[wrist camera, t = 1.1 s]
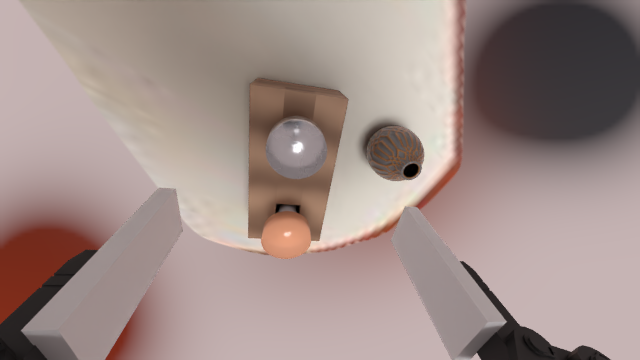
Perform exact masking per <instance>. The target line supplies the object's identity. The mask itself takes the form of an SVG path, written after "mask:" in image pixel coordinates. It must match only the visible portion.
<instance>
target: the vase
mask: <svg viewBox="0 0 640 360" xmlns="http://www.w3.org/2000/svg"><path fill="white" fill-rule="evenodd" d="M367 159H368V162H369V164H370V166H371V168H372V169H373V170H374V171H375V172H376V173H377V174H378V175H379V176H381V177H383V178H385V179H387V180H391V181H402V180H412V179H414V178H416V177H417V176H418V175H419V174H420V172H421V169H422V167H421V166H422V164H423V161H424V149H423V146H422V143H421V141H420V140H419V138H418V137H417V136H416V135H415V134H414V133H413V132H412V131H410V130H408V129H406V128H404V127H401V126H387V127H384V128H382V129H380V130H378V131H377V132H376V133H374V134H373V136H372V137H371V138H370V140H369V142H368V145H367Z"/></svg>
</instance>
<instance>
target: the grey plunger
mask: <svg viewBox="0 0 640 360" xmlns="http://www.w3.org/2000/svg"><path fill="white" fill-rule="evenodd" d="M266 157H267V160H268V162H269V164H270V166H271V167H272V168H273V169H274V170H275V171H276V172H277V173H278V174H280V175H282V176H284V177H287V178H291V179H302V178H306V177H309V176H311V175H313V174H315V173H316V172H317V171H318V170H319V169H320V168H321V167H322V166H323V164H324V162H325V160H326V157H327V144H326V141H325V138H324V136H323V133H322V131H321V129H320V128H319V127H318V125H317V124H316V123H314V122H313V121H312V120H310V119H308V118H305V117H301V116H290V117H287V118H284V119H282V120H280V121H279V122H277V123H276V124H275V125H274V126H273V128H272V129H271V131H270V133H269V136H268V140H267V143H266Z"/></svg>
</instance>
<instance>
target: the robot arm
mask: <svg viewBox="0 0 640 360" xmlns="http://www.w3.org/2000/svg"><path fill="white" fill-rule="evenodd" d="M182 231H183V229H182V223H181V217H180V211H179V205H178V199H177V193H176V189H169V188H158V189H157V190H156V191H155V192H154V193H153V194H152V195H151V197H150V198H149V199H148V200H147V201H146V202H145V203H144V204H143V205H142V206H141V207H140V208H139V209H138V210H137V211H136V212H135V213H134V214H133V215H132V216H131V217H130V218H129V219H128V220H127V221H126V222H125V223H124V224H123V225H122V226H121V228H120V229H119V230H118V231H117V232H116V233H115V234H114V235H113V236H112V237H111V238H110V239H109V240H108V241H107V242H106V243H105V244H104V245H103V246H102V247H101V248H100V249H99V250H85V251H83V252H82V253H80V254H78V255H77V256H75V257H73V258H72V259H70V260H68V261H67V262H66V263H65V264H64V265H63V266H62V267H61V268H60V269H59V270H58V271H57V272H56V273H54V276H52V277H50V278H49V279H48V280H47V281H46V282H45V283H44V284H43V285H42V287H41V288H39V289H37V291H36V292H34V293H33V294H32V295H31V296H30V297H29V298H28V299H27V300H26V301H25V302H24V303H23V304H22V305H21V306H19V307H18V308H17V309H16V310H15V311H14V312H13V313H12V314H11V315H10V316H9V317H8V318H7V319H6V320H5V321H3V322H2V323H1V324H0V360H105V358H106V357H107V355H108V353H109V352H110V350H111V348H112V347H113V345H114V343H115V342H116V340H117V339H118V337H119V335H120V334H121V332H122V330H123V329H124V327H125V325H126V324H127V322H128V320H129V319H130V317H131V315H132V314H133V312H134V310H135V309H136V307H137V306H138V304H139V302H140V301H141V299H142V297H143V296H144V294H145V292H146V291H147V289H148V287H149V286H150V284H151V282H152V281H153V279H154V277H155V276H156V274H157V272H158V270H159V269H160V268H161V266H162V264H163V263H164V261H165V259H166V258H167V256H168V254H169V253H170V251H171V249H172V248H173V246H174V244H175V242H176V241H177V240H178V238H179V236H180V234H181V233H182ZM391 242H392V244H393V246H394V248H395V250H396V252H397V254H398V256H399V257H400V259H401V262H402V263H403V265H404V267H405V269H406V271H407V273H408V275H409V277H410V279H411V281H412V283H413V285H414V287H415V289H416V291H417V293H418V295H419V296H420V299H421V301H422V303H423V305H424V306H425V308H426V310H427V312H428V314H429V316H430V318H431V320H432V322H433V324H434V326H435V328H436V330H437V332H438V334H439V336H440V338H441V340H442V342H443V343H444V346H445V348H446V349H447V351H448V353H449V355H450V357H451V359H452V360H470V359H471V358H472V357H473V356H474V355H475V354H476V353H478V355H479V357H480V358H481V360H610V359H609V358H608V357H606V356H605V355H603V354H602V353H600V352H599V351H597V350H595V349H593V348H591V347H587V346H580V347H578V348H576V349H575V350H574V351H572V352H570V351H567V350H564V349H560V348H557V347H554V346H551V345H550V344H549V342H548V341H546V340H545V339H544V338H543V337H542V336H541V335H539V334H538V333H536V332H535V331H533V330H531V329H529V328H526V327H521V326H520V325H519V324H518V323H517V322H516V320H515V319H514V318H513V317H512V316H511V315H510V313H509V312H508V311H507V310H506V308H505V307H504V306H503V305H502V303H501V302H500V301H499V300H498V299H497V297H496V296H495V295H494V294H493V292H492V291H490V290H489V288H488V286H487V285H486V284H485V283H484V282H483V280H482V279H481V278H480V277H479V275H478V274H477V273H476V272H475V271H474V270H473V269H472V268H471V267H470V266H468V265H467V264H466V263H465V262H463V261H462V262H461V261H459V260H458V259H457V258H456V256H455V255H454V254H453V253H452V251H451V250H450V249H449V247H448V246H447V245H446V244H445V242H444V241H443V240H442V239H441V237H440V236H439V235H438V233H437V232H436V231H435V230H434V228H433V227H432V226H431V224H430V223H429V222H428V221H427V219H426V218H425V217H424V216H423V215H422V213H421V212H420V210H419V209H418V208H417V207H407V206H405V208H404V210H403V213H402V215H401V218H400V220H399V222H398V225H397V227H396V230H395V232H394V235H393V237H392V239H391Z"/></svg>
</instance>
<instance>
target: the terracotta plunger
mask: <svg viewBox="0 0 640 360" xmlns="http://www.w3.org/2000/svg"><path fill="white" fill-rule="evenodd" d="M261 243H262V246H263V248H264V250H265V251H266V252H267V253H268V254H270V255H272V256H274V257H277V258H281V259H288V258H294V257H297V256H300V255H302V254H303V253H304V252H305V251H306V250H307V249H308V248H309V246H310V243H311V235H310V225H309V223H308V221H307V219H306V218H305V217H304V216H302V215H301V214H299V213H296V205H289V204H280V205H279V211H278V213H275V214H273V215H272V216H270V217H269V218H268V219H267V220H266V222H265V224H264V227H263V233H262V239H261Z"/></svg>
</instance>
